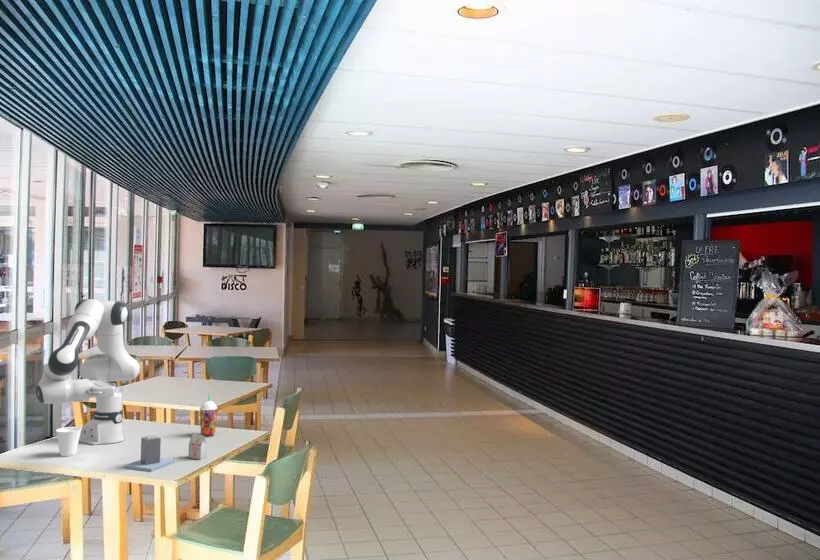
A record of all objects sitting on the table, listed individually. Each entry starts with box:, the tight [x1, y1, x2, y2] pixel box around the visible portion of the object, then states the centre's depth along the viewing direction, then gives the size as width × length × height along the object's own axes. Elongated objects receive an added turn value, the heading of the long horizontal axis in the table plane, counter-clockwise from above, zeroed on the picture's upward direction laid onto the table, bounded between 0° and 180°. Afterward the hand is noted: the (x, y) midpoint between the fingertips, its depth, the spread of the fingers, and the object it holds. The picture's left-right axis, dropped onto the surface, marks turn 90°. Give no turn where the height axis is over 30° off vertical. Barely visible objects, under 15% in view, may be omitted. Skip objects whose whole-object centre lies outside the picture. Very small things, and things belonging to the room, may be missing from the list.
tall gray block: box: [140, 435, 162, 465], centre depth 262 cm, size 6×6×10 cm
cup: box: [55, 426, 82, 457], centre depth 274 cm, size 10×10×11 cm
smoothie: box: [199, 394, 218, 438], centre depth 314 cm, size 8×8×20 cm
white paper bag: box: [188, 433, 208, 461], centre depth 275 cm, size 4×7×10 cm, turn 66°
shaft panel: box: [124, 457, 176, 473], centre depth 262 cm, size 13×14×8 cm
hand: (119, 387), depth 262 cm, fingers open, 8 cm apart
